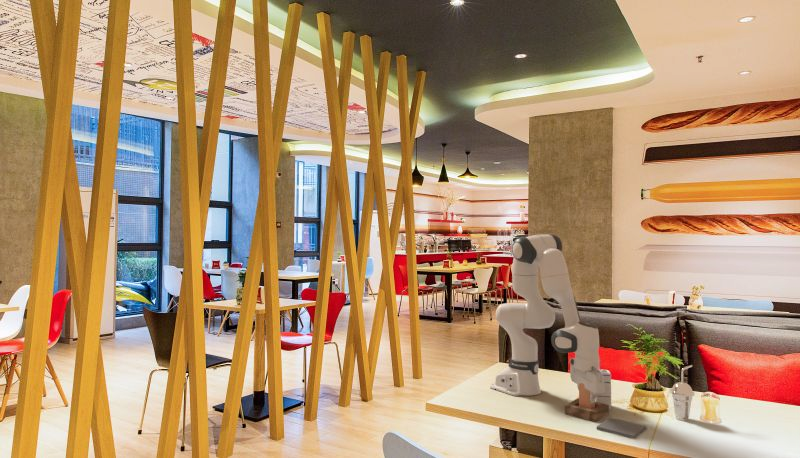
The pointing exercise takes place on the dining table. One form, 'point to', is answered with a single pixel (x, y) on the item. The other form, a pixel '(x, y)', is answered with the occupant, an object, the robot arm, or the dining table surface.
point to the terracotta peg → (585, 397)
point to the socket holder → (587, 411)
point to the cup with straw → (682, 398)
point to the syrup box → (606, 396)
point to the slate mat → (621, 427)
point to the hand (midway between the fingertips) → (586, 399)
